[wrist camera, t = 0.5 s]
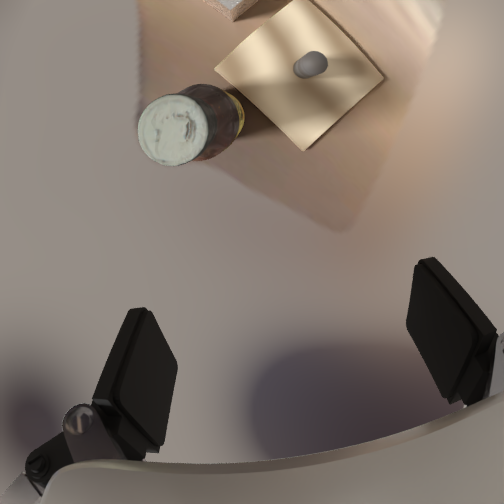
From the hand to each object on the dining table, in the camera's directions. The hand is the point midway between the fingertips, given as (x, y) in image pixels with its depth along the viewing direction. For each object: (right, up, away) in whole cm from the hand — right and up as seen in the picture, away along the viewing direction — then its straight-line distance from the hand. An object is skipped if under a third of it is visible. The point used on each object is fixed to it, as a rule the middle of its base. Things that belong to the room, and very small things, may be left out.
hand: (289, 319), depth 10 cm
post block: (+4, +23, +19) cm, 30 cm away
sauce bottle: (-5, +18, +22) cm, 29 cm away
